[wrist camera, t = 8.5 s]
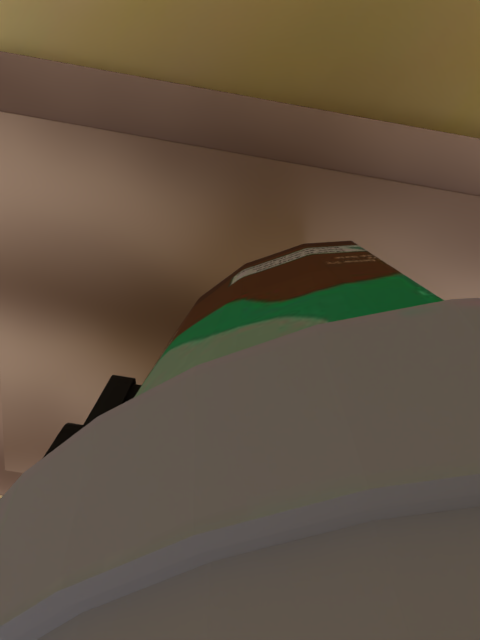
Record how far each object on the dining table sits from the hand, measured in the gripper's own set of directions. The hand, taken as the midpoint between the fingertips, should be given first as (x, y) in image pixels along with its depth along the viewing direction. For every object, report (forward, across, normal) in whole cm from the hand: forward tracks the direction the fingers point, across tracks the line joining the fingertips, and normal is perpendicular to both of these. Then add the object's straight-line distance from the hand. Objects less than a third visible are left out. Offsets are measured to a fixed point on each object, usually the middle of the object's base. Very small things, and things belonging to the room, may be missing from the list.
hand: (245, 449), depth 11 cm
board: (+8, 0, 0) cm, 8 cm away
